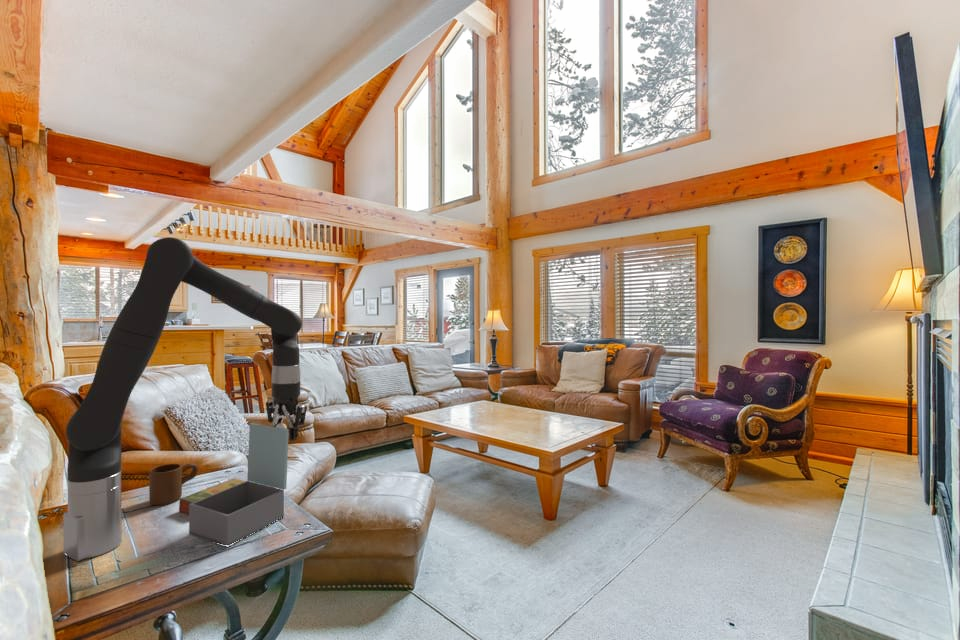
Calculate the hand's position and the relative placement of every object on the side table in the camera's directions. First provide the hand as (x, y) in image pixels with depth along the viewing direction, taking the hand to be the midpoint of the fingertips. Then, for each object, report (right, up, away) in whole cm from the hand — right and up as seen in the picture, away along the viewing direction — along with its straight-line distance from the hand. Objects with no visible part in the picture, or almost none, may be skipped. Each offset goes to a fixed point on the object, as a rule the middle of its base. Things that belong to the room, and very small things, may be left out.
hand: (285, 438), depth 124 cm
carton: (-19, -19, -1) cm, 27 cm away
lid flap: (-3, -3, -6) cm, 7 cm away
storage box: (-6, -19, -13) cm, 24 cm away
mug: (-33, -18, +2) cm, 38 cm away
